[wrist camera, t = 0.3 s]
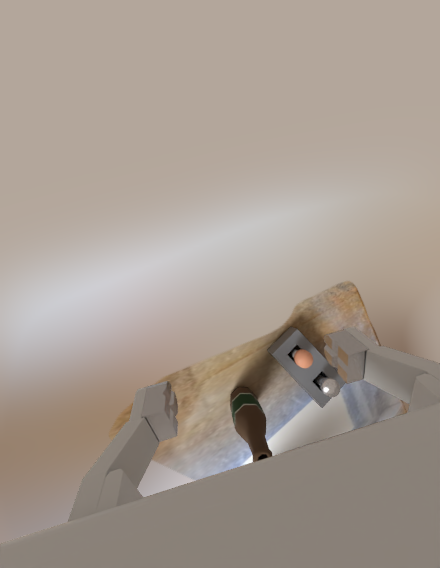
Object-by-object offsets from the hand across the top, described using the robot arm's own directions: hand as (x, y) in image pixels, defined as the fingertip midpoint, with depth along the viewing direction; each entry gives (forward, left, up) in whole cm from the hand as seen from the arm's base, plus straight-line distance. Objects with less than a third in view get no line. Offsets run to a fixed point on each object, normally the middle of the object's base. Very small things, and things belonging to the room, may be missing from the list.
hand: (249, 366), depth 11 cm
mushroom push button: (-24, -8, -50) cm, 56 cm away
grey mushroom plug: (-34, -8, -50) cm, 61 cm away
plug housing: (-29, -8, -53) cm, 61 cm away
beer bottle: (-24, +12, -54) cm, 60 cm away
